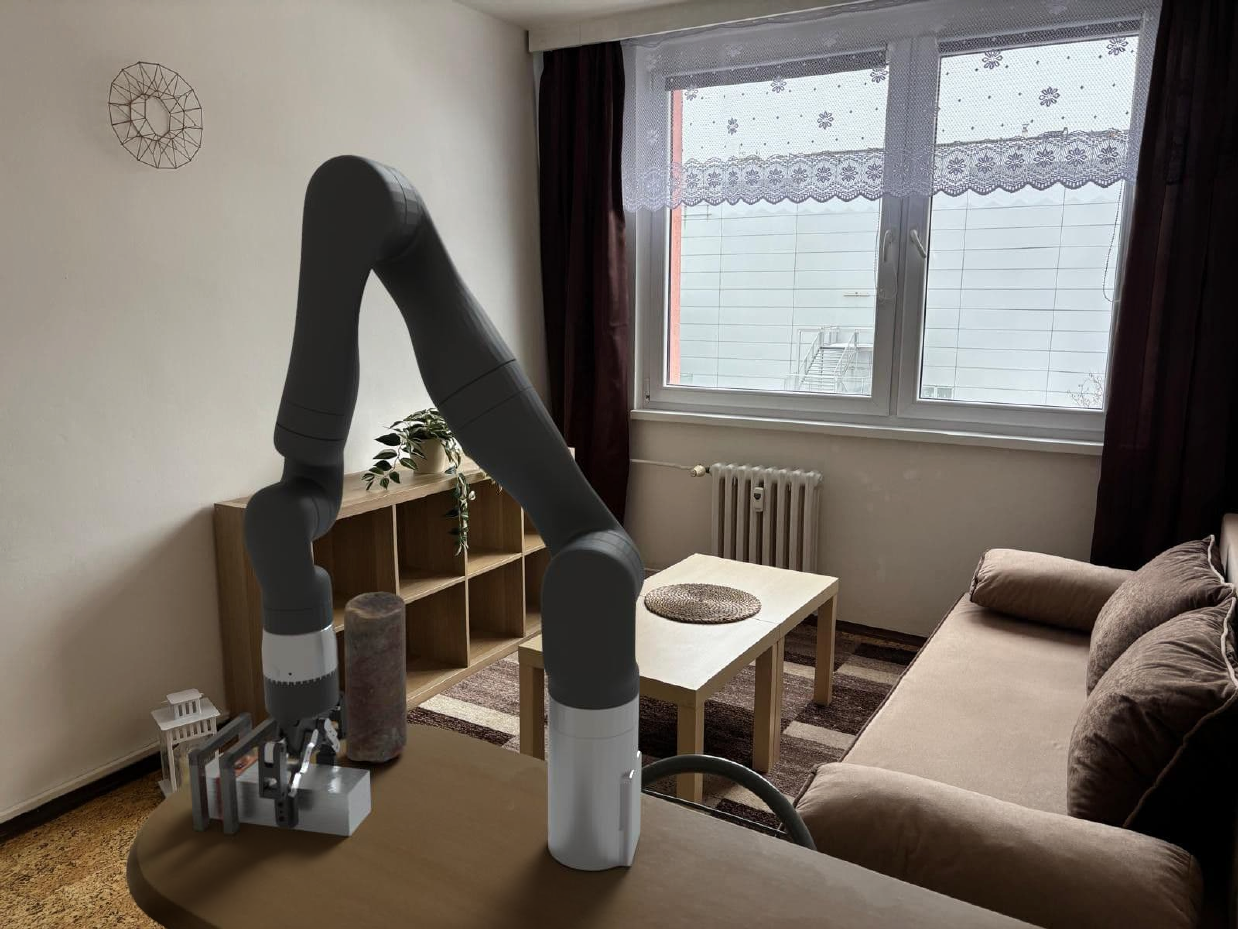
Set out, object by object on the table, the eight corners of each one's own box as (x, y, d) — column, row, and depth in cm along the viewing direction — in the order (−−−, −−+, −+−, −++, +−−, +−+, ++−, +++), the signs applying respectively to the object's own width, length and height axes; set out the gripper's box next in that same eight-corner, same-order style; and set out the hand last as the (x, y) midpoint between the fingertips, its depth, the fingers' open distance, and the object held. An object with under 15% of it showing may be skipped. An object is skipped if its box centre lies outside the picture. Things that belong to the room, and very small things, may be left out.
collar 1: (255, 782, 106) (251, 713, 105) (202, 831, 97) (196, 755, 95) (247, 782, 106) (243, 712, 105) (194, 830, 97) (188, 754, 95)
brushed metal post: (371, 811, 101) (369, 768, 100) (349, 838, 96) (347, 793, 95) (225, 793, 104) (222, 751, 103) (196, 818, 99) (192, 774, 98)
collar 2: (283, 786, 106) (279, 716, 104) (232, 835, 96) (227, 758, 94) (275, 785, 106) (271, 715, 104) (224, 833, 96) (218, 757, 95)
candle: (417, 742, 116) (412, 592, 113) (398, 772, 109) (392, 612, 105) (359, 739, 117) (353, 589, 113) (336, 768, 110) (328, 609, 106)
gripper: (298, 696, 89) (306, 846, 92) (364, 642, 103) (369, 774, 106) (228, 689, 90) (239, 837, 93) (303, 637, 104) (310, 768, 107)
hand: (308, 804), depth 100 cm, fingers open, 8 cm apart
